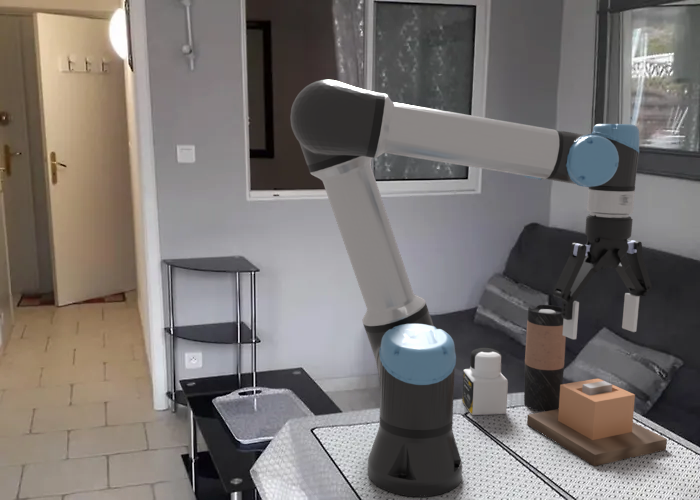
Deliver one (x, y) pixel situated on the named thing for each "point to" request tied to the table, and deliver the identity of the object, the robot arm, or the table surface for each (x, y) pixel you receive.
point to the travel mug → (544, 358)
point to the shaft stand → (598, 449)
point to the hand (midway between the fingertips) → (599, 333)
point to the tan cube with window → (596, 410)
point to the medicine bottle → (485, 383)
